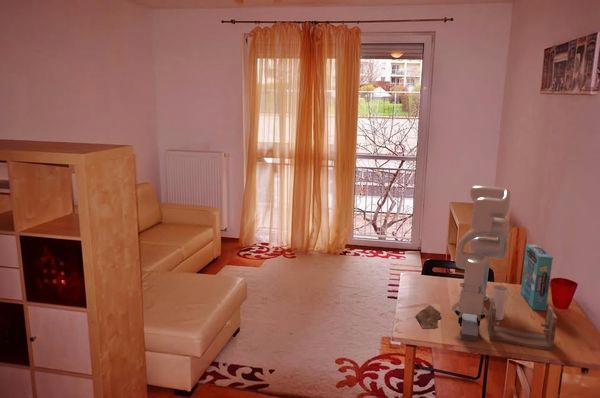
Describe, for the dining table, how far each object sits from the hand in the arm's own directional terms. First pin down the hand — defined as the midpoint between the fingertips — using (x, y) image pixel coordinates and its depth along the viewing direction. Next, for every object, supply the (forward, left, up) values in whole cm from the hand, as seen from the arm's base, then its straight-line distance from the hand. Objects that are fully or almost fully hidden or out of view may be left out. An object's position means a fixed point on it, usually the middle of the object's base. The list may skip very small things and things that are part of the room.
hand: (468, 326), depth 199 cm
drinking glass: (-17, +13, -2) cm, 22 cm away
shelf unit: (0, +20, -2) cm, 20 cm away
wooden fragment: (-8, -17, -3) cm, 19 cm away
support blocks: (0, 0, -2) cm, 2 cm away
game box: (-43, +32, -2) cm, 54 cm away
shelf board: (0, 0, +1) cm, 1 cm away
